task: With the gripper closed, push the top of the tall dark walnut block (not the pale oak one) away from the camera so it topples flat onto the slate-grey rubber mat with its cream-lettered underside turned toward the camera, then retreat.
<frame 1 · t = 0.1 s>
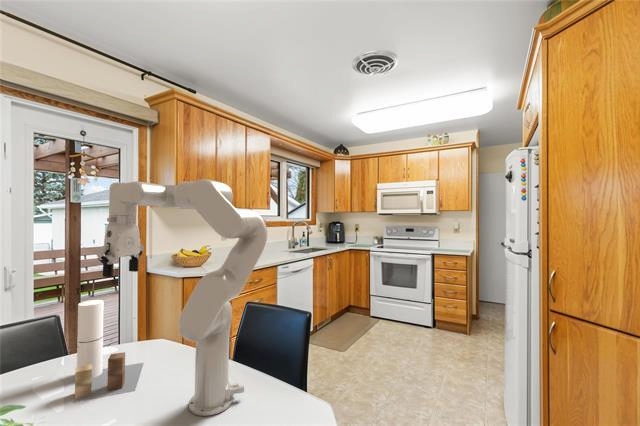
hand: (121, 273, 98), 37 cm above the table, tool pointing down, fingers open, 9 cm apart
mat: (112, 381, 102), on the table
cylindrical container: (89, 375, 105), on the table, touching mat
oak block: (83, 394, 94), resting on mat
walnut block: (116, 386, 98), resting on mat
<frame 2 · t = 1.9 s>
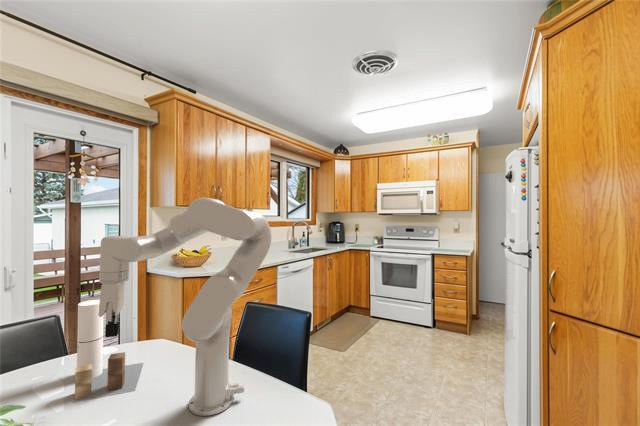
hand: (112, 335, 93), 19 cm above the table, tool pointing down, fingers closed
nothing on the table moved.
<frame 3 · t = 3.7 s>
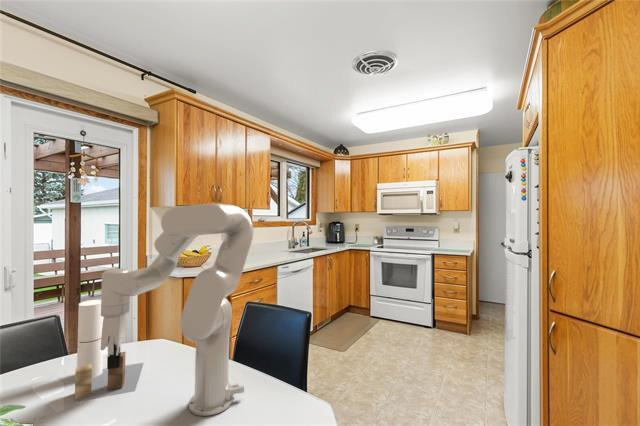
hand: (113, 367, 95), 8 cm above the table, tool pointing down, fingers closed
walnut block: (116, 386, 98), resting on mat, touching gripper
everything else where it was.
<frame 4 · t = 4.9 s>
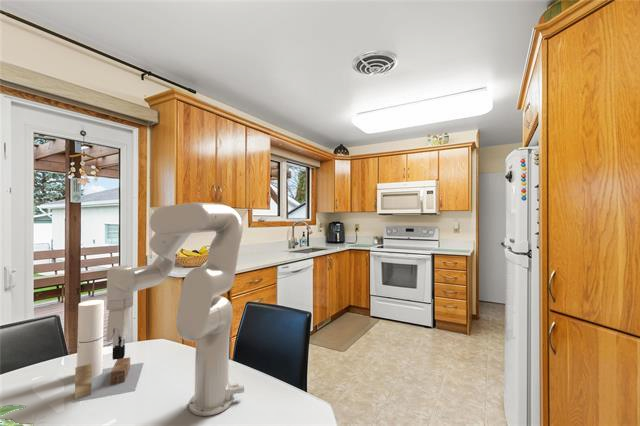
hand: (118, 357, 101), 8 cm above the table, tool pointing down, fingers closed
walnut block: (117, 377, 100), point 2 cm above the table, tilted 90°, touching mat
everything else where it was.
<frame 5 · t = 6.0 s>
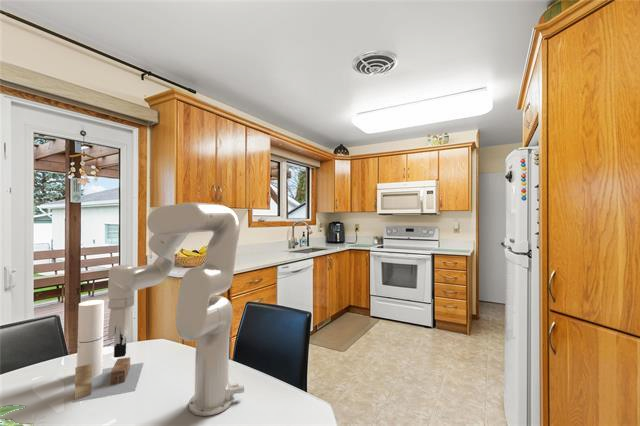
hand: (120, 355, 103), 8 cm above the table, tool pointing down, fingers closed
nothing on the table moved.
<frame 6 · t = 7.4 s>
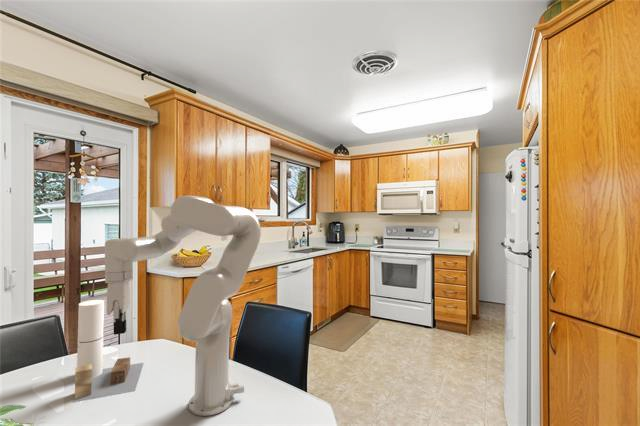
hand: (120, 332, 98), 18 cm above the table, tool pointing down, fingers closed
nothing on the table moved.
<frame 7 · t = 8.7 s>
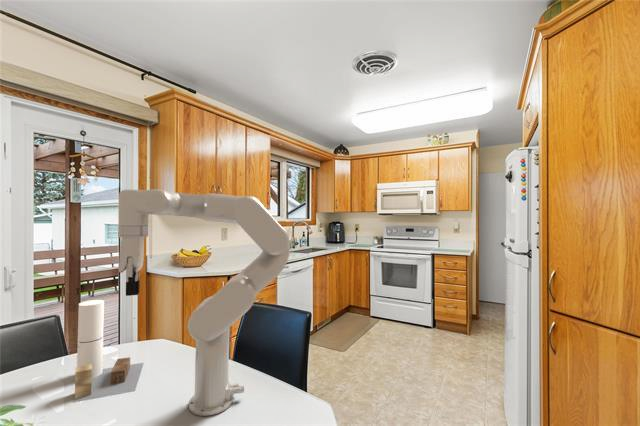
hand: (132, 294, 88), 33 cm above the table, tool pointing down, fingers closed
nothing on the table moved.
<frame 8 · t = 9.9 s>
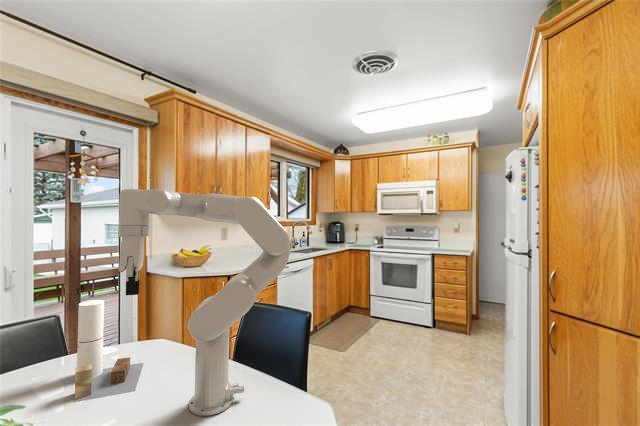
hand: (132, 294, 88), 33 cm above the table, tool pointing down, fingers closed
nothing on the table moved.
at the end: walnut block tilted 90°; walnut block inside the target area (5.1 cm from its centre), point 2.3 cm above the table; oak block tilted 0° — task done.
